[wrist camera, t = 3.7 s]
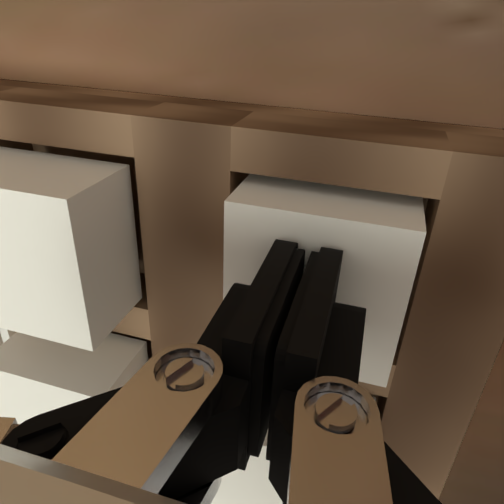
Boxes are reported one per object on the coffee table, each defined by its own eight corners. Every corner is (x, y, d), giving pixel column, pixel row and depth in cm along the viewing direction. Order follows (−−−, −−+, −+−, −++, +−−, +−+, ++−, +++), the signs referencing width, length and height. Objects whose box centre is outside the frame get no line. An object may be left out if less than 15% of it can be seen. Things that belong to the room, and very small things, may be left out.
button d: (146, 341, 16) (101, 399, 13) (155, 429, 18) (117, 491, 16) (37, 314, 17) (-23, 364, 14) (58, 400, 19) (9, 455, 17)
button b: (376, 397, 14) (371, 475, 12) (353, 487, 16) (345, 568, 14) (237, 363, 15) (206, 429, 13) (234, 452, 17) (207, 522, 15)
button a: (421, 188, 12) (426, 232, 9) (388, 324, 14) (386, 387, 12) (256, 166, 13) (224, 201, 11) (250, 296, 15) (222, 348, 13)
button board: (537, 132, 12) (583, 172, 9) (419, 467, 19) (422, 552, 16) (-101, 68, 17) (-208, 80, 14) (-11, 350, 24) (-69, 398, 21)
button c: (129, 164, 13) (66, 199, 10) (142, 297, 15) (93, 351, 12) (-4, 145, 14) (-89, 173, 11) (27, 272, 16) (-39, 317, 13)
